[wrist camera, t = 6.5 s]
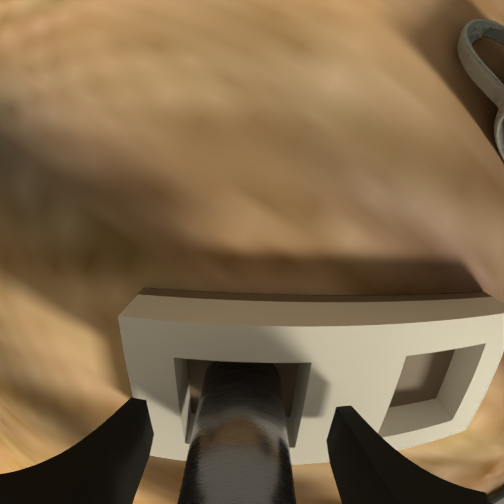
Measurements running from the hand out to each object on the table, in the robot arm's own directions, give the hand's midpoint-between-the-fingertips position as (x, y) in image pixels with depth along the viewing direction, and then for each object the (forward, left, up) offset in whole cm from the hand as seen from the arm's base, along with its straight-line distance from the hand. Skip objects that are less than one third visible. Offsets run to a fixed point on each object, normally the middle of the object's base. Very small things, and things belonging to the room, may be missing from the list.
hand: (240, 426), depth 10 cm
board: (0, -4, -4) cm, 6 cm away
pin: (0, 0, -3) cm, 3 cm away
